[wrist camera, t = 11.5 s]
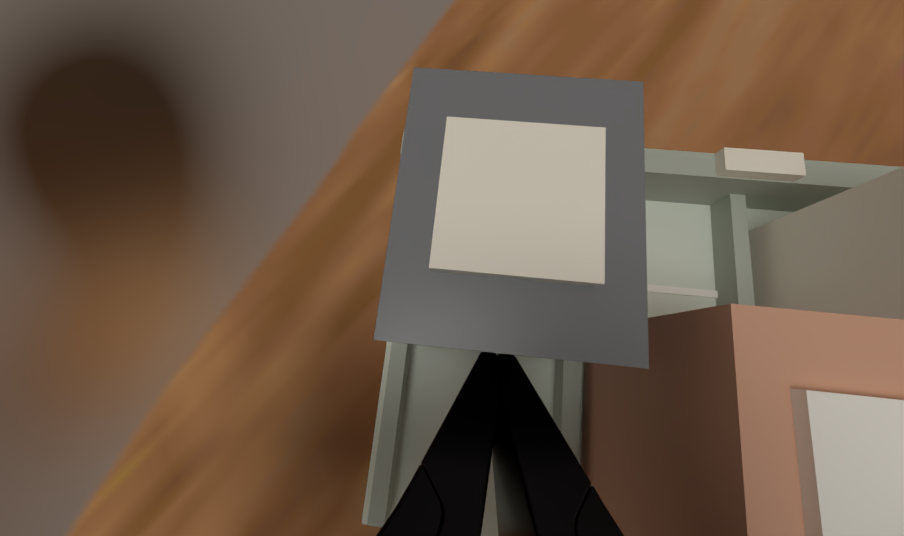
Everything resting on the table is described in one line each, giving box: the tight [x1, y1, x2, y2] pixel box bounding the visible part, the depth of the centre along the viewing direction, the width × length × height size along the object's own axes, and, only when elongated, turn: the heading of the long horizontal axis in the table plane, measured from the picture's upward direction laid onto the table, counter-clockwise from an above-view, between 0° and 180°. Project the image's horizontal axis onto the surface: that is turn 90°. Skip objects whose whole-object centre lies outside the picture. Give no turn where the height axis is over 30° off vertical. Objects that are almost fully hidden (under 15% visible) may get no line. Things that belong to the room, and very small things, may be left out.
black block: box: [374, 67, 649, 369], centre depth 11 cm, size 6×5×8 cm
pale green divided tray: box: [361, 131, 901, 536], centre depth 14 cm, size 15×21×5 cm
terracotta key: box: [583, 304, 904, 536], centre depth 9 cm, size 6×5×8 cm
